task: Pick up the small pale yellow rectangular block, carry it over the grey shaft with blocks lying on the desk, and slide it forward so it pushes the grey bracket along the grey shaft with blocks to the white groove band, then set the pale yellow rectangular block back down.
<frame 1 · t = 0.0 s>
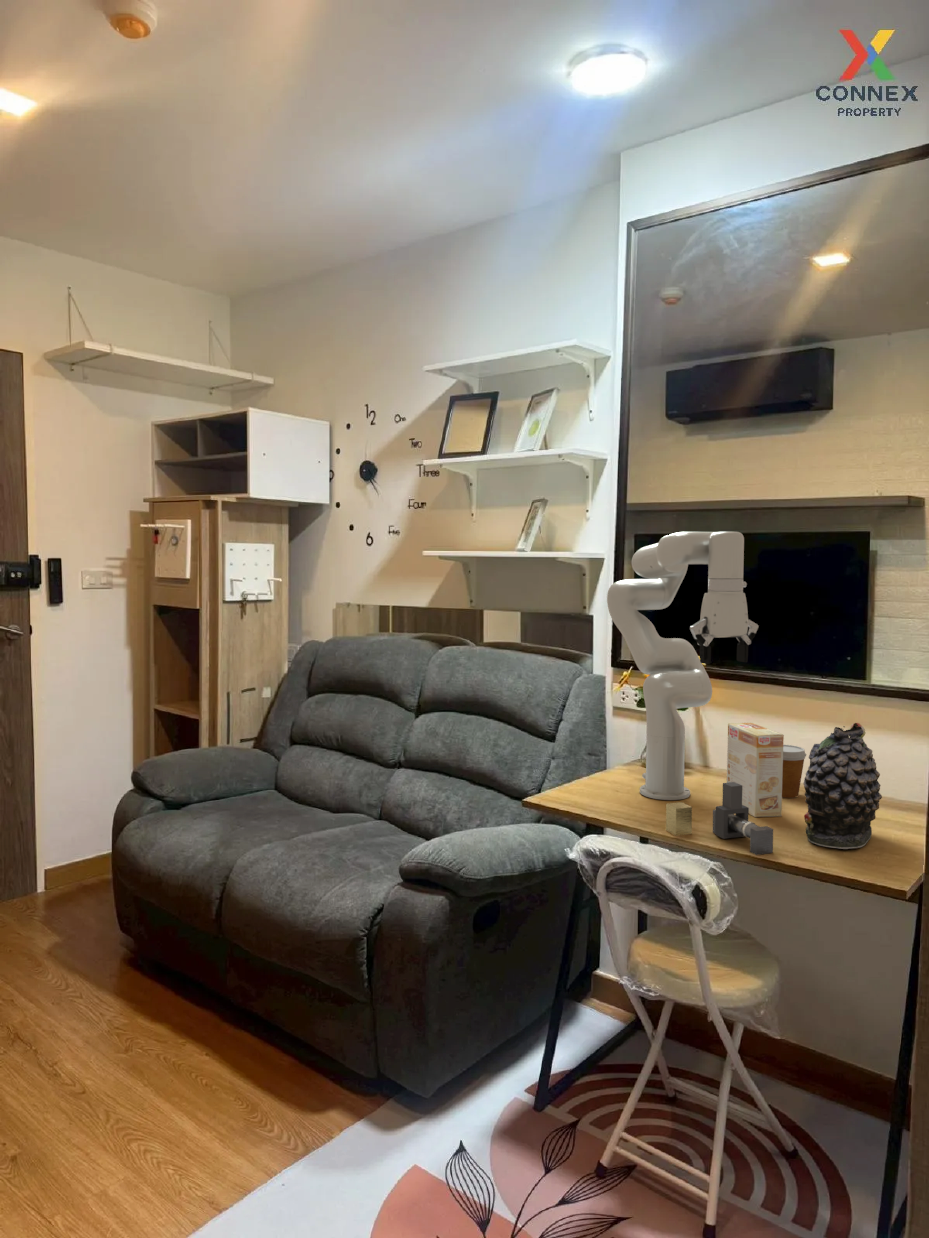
hand: (723, 662, 187), 37 cm above the table, tool pointing down, fingers open, 9 cm apart
coffeecake box: (753, 808, 201), on the table
pale yellow rectangular block: (678, 832, 183), on the table
disposable coffee cup: (785, 795, 212), on the table
pinecone sculpture: (839, 839, 178), on the table
grey bracket: (732, 809, 179), point 6 cm above the table, slide at 0.0 cm
grey shaft with blocks: (741, 842, 176), on the table
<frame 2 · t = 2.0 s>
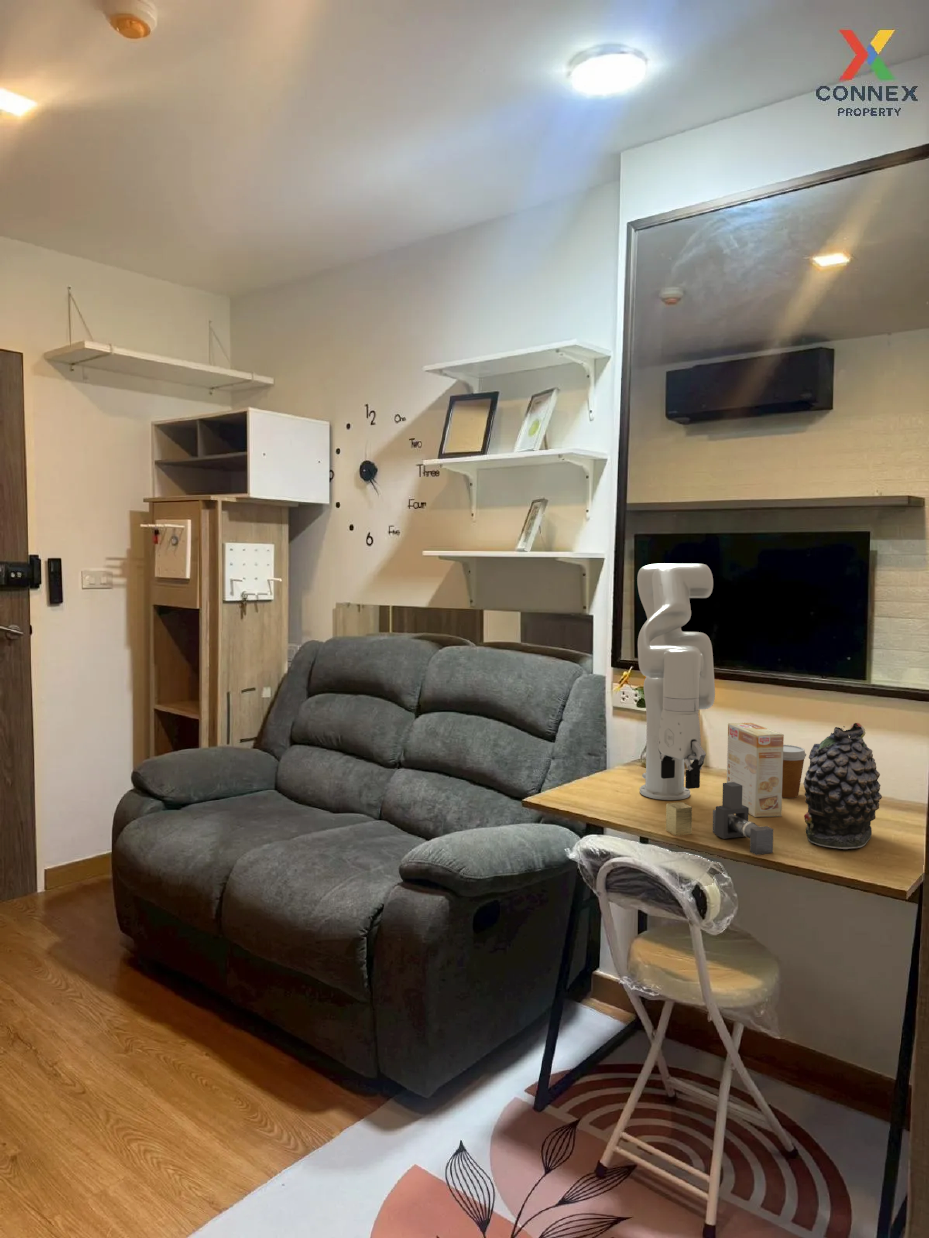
hand: (679, 782, 181), 11 cm above the table, tool pointing down, fingers open, 9 cm apart
nothing on the table moved.
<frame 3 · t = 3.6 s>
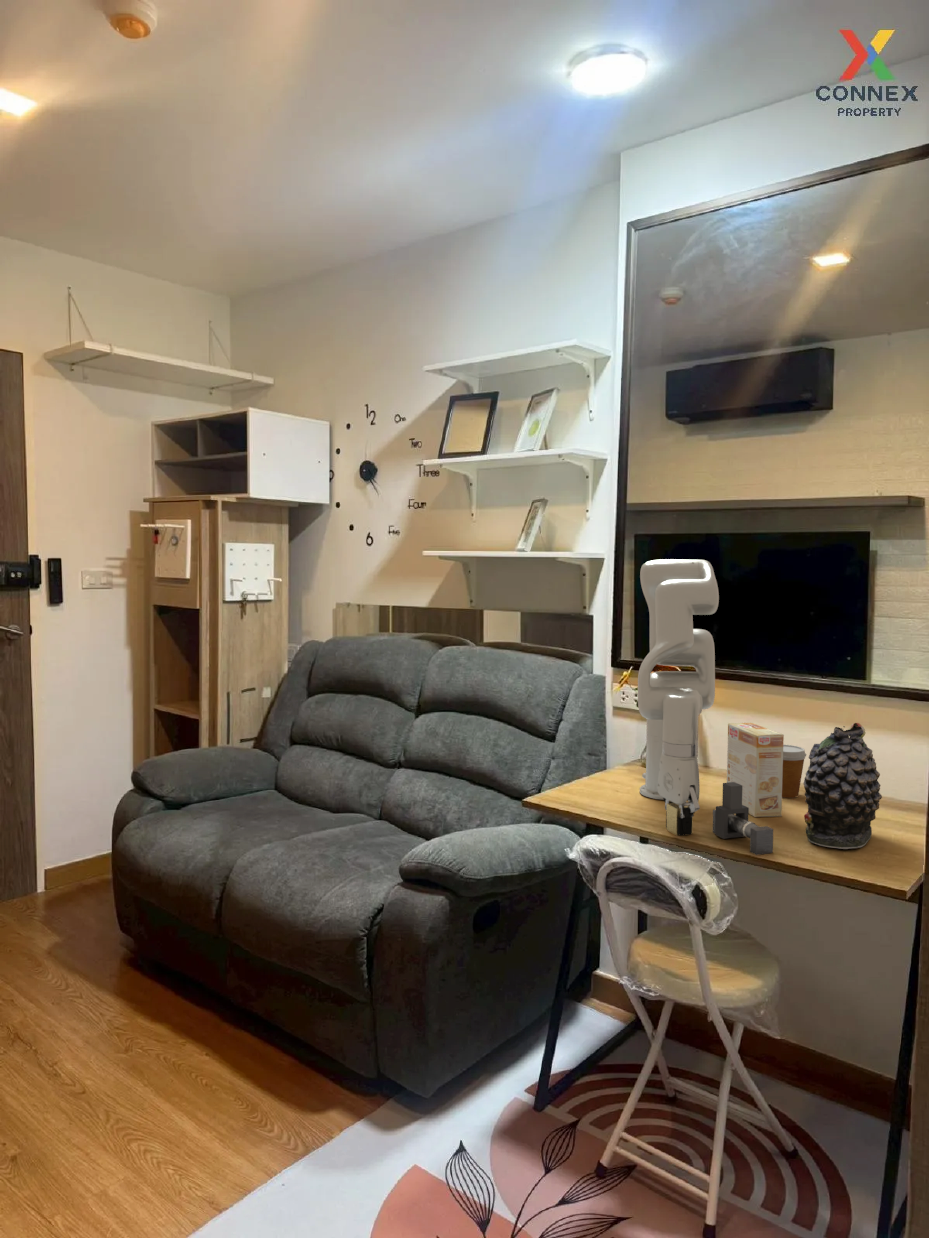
hand: (678, 830, 183), 0 cm above the table, tool pointing down, fingers closed on pale yellow rectangular block, 3 cm apart
pale yellow rectangular block: (679, 831, 183), on the table, touching gripper
everything else where it was.
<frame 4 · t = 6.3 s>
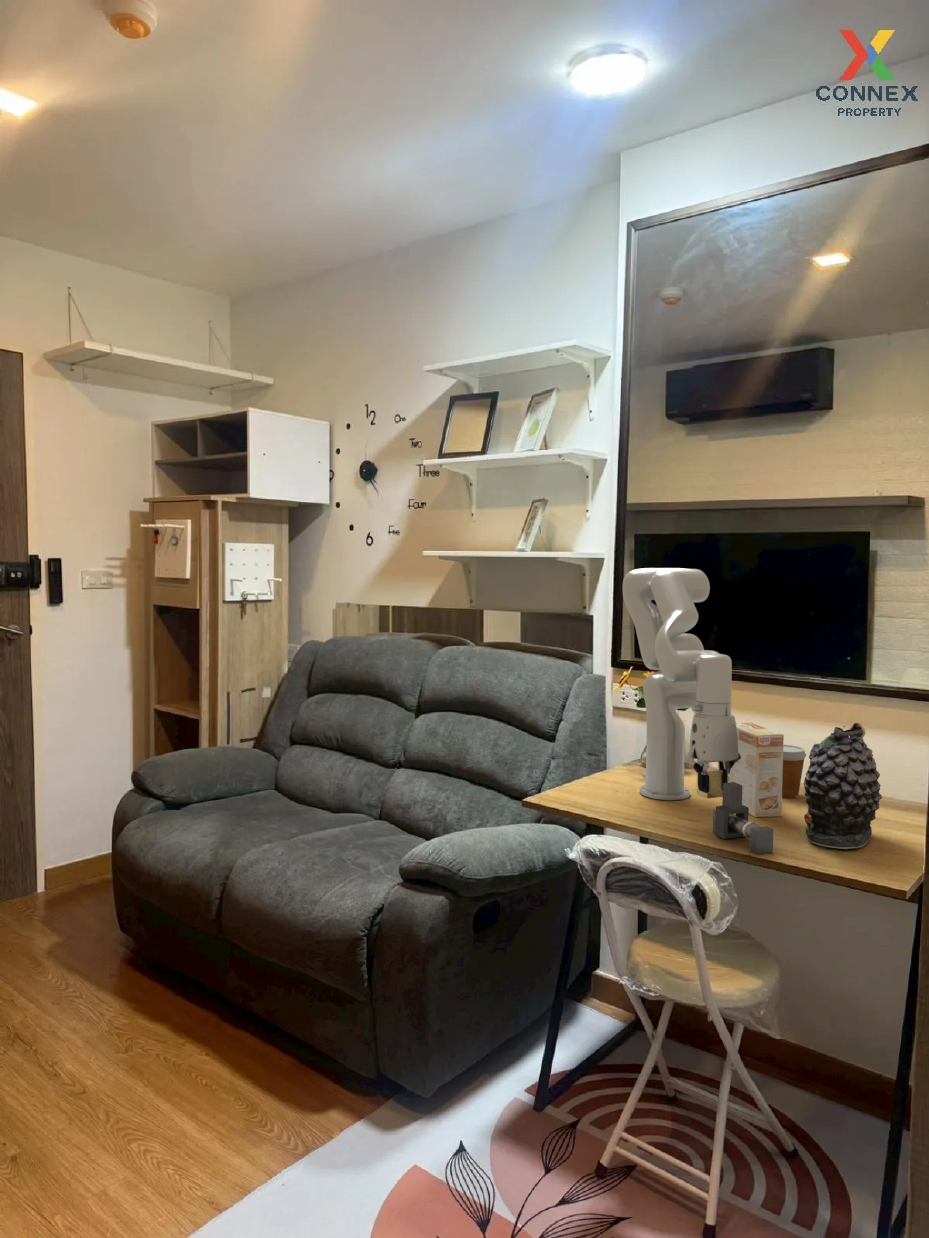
hand: (712, 789, 185), 9 cm above the table, tool pointing down, fingers closed on pale yellow rectangular block, 4 cm apart
pale yellow rectangular block: (709, 795, 187), point 7 cm above the table, touching gripper
everything else where it was.
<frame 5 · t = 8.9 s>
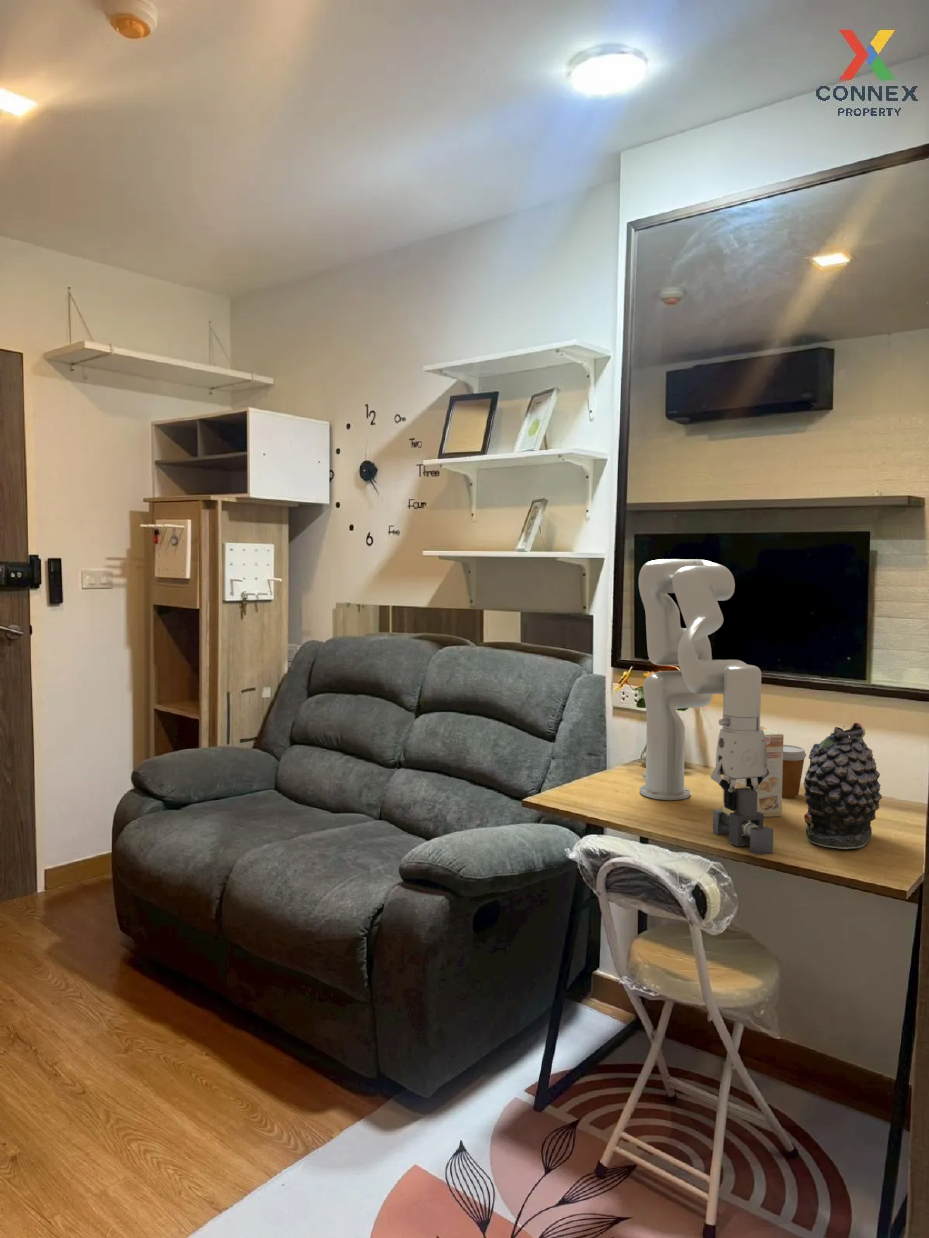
hand: (739, 807, 176), 7 cm above the table, tool pointing down, fingers closed on pale yellow rectangular block, 4 cm apart
pale yellow rectangular block: (736, 813, 178), point 6 cm above the table, touching grey bracket, gripper
grey bracket: (746, 816, 174), point 6 cm above the table, slide at 5.0 cm, touching pale yellow rectangular block
everything else where it was.
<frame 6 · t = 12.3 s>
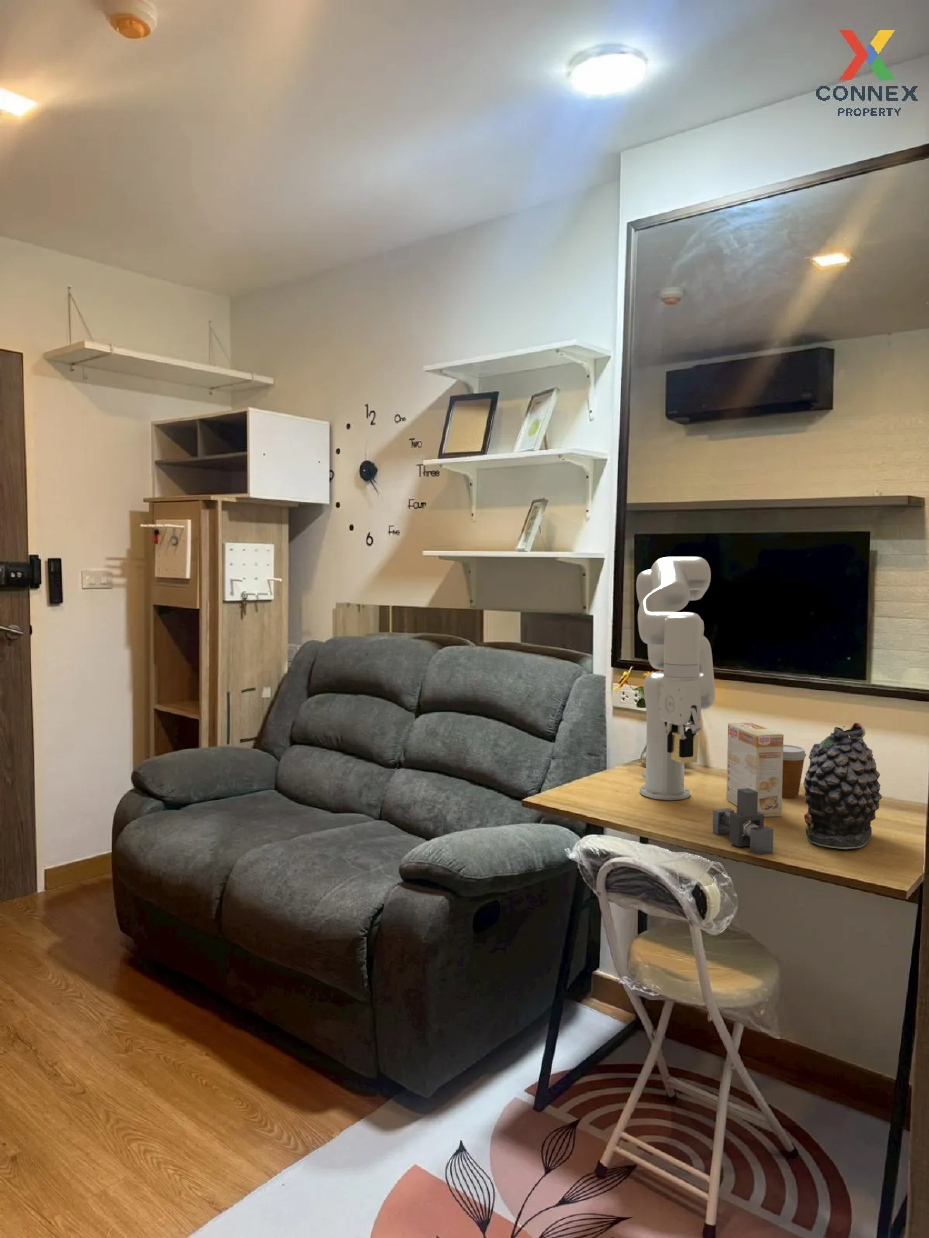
hand: (680, 753, 181), 18 cm above the table, tool pointing down, fingers closed on pale yellow rectangular block, 4 cm apart
pale yellow rectangular block: (684, 760, 182), point 16 cm above the table, touching gripper
grey bracket: (747, 816, 174), point 6 cm above the table, slide at 5.1 cm
everything else where it was.
when the fingers open (2 cm above the table, at t = 15.3 s): pale yellow rectangular block stays where it is, on the table.
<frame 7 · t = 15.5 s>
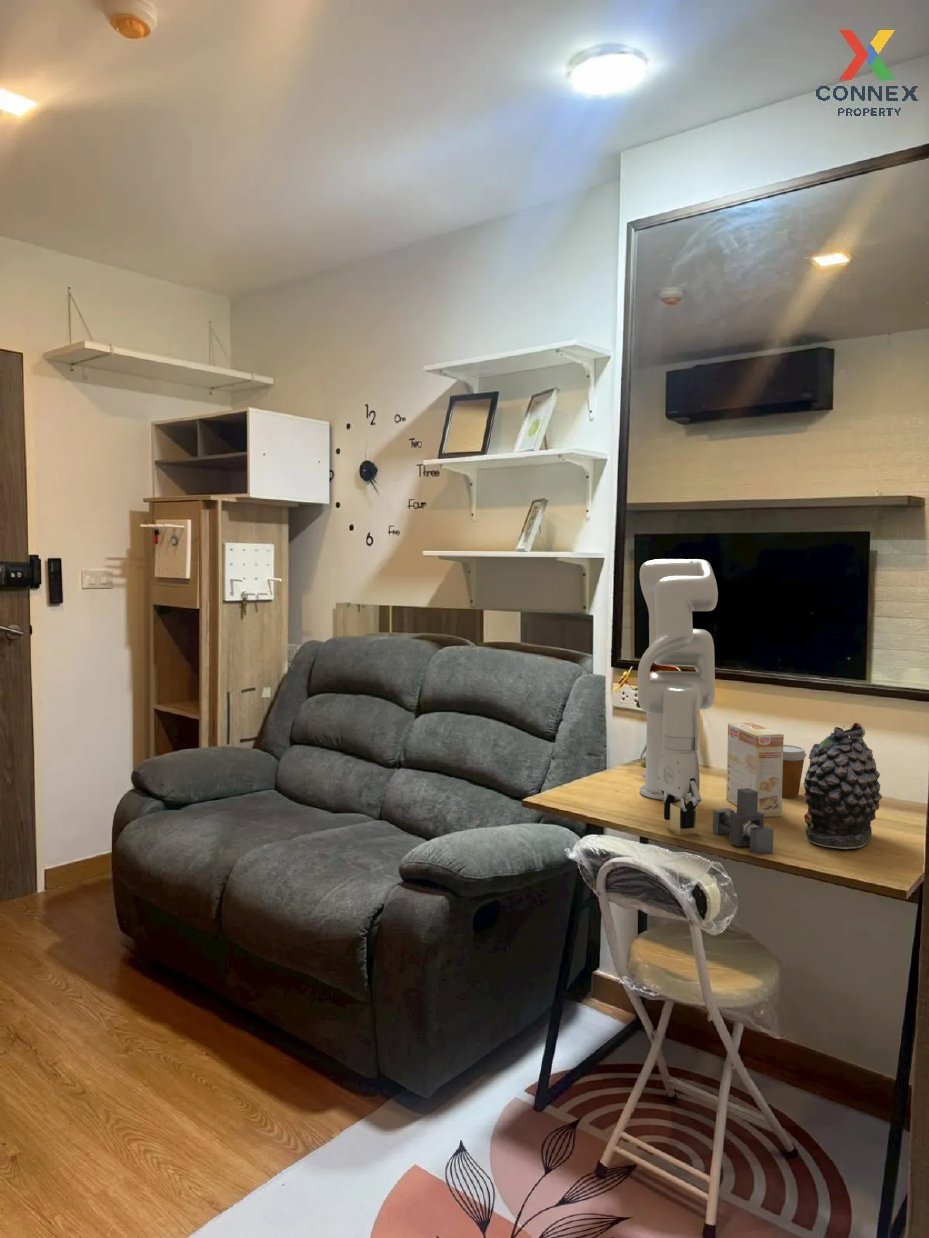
hand: (678, 822, 183), 2 cm above the table, tool pointing down, fingers open, 5 cm apart
pale yellow rectangular block: (682, 831, 183), on the table
everything else where it was.
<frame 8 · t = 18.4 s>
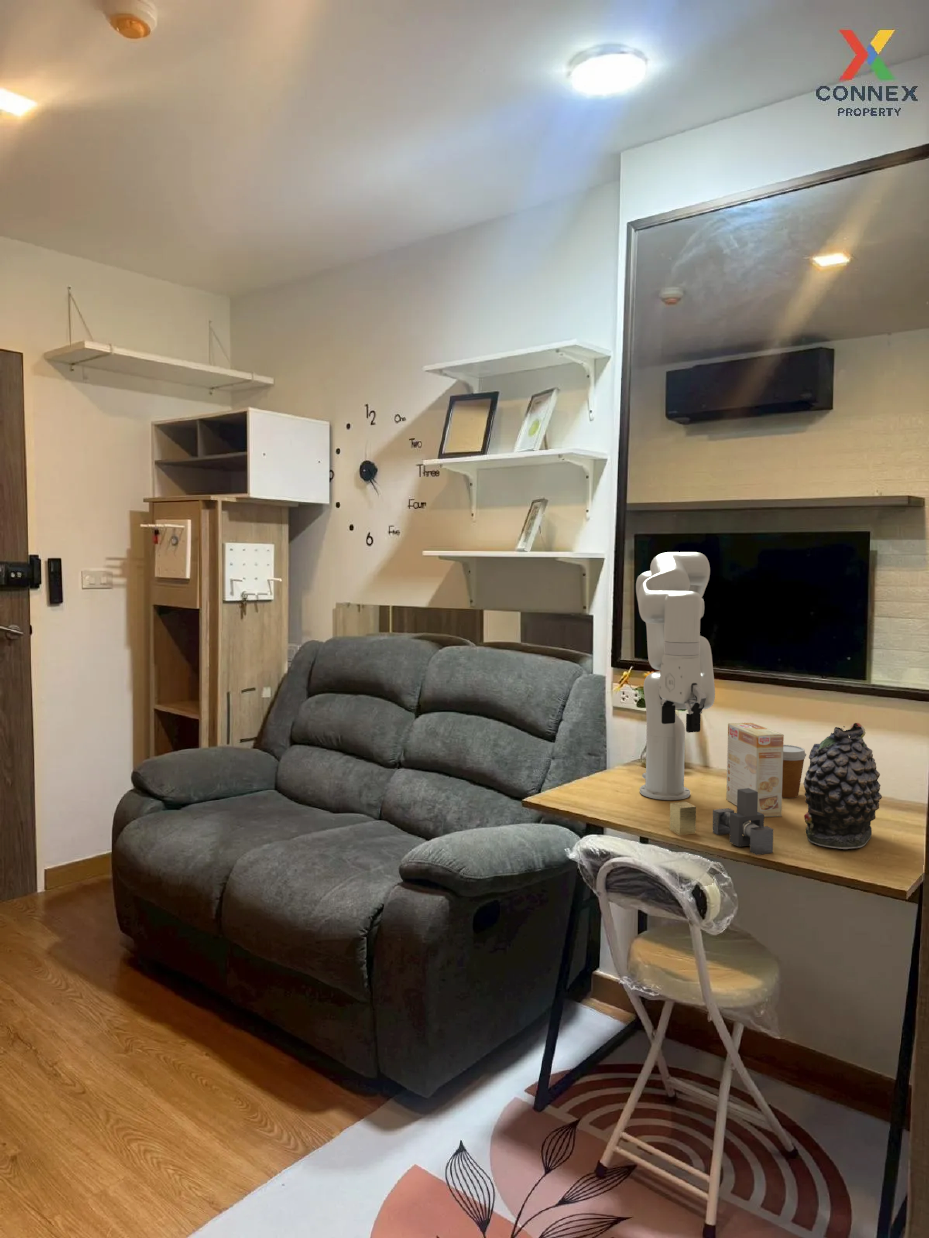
hand: (680, 727, 181), 23 cm above the table, tool pointing down, fingers open, 9 cm apart
nothing on the table moved.
at the end: grey bracket slide at 5.1 cm; pale yellow rectangular block on the table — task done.
